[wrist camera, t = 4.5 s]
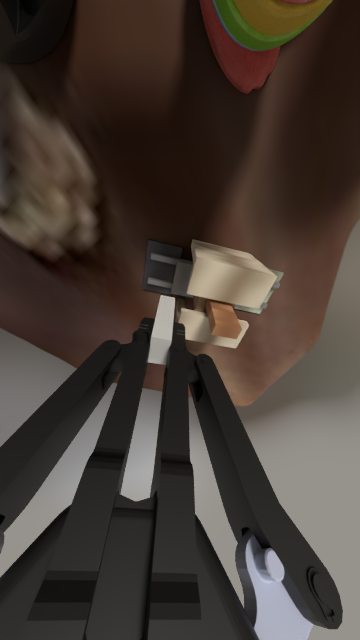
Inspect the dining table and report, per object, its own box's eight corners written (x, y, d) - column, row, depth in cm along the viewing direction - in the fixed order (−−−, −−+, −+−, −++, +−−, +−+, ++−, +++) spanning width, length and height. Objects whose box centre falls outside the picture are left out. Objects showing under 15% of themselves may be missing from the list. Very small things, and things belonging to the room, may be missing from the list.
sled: (171, 290, 28) (164, 340, 18) (177, 259, 25) (174, 298, 16) (239, 304, 30) (267, 358, 20) (252, 276, 27) (293, 323, 17)
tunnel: (141, 296, 31) (128, 329, 23) (149, 228, 24) (134, 242, 17) (255, 319, 33) (276, 356, 26) (288, 263, 27) (330, 289, 19)
